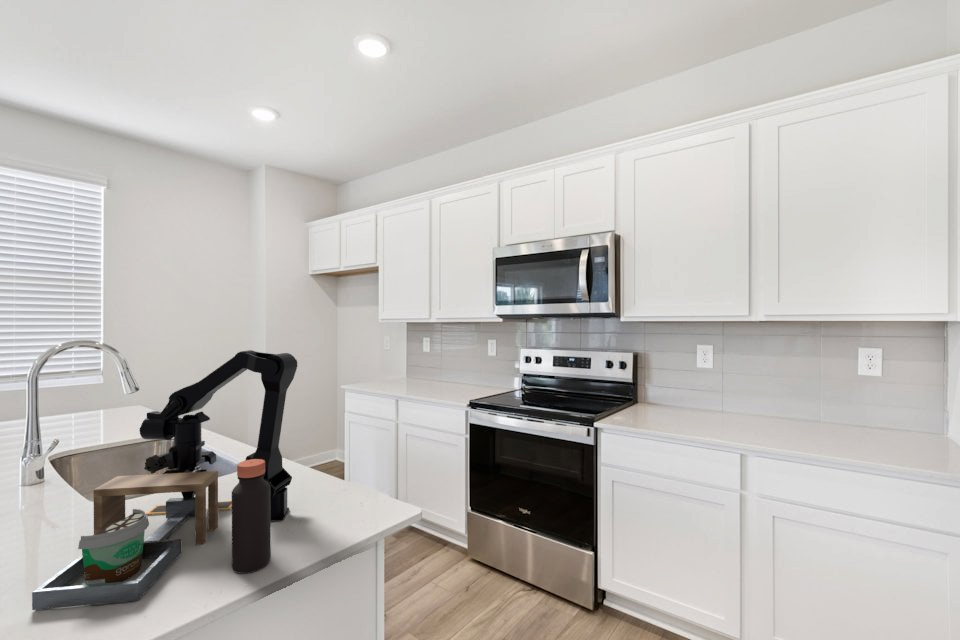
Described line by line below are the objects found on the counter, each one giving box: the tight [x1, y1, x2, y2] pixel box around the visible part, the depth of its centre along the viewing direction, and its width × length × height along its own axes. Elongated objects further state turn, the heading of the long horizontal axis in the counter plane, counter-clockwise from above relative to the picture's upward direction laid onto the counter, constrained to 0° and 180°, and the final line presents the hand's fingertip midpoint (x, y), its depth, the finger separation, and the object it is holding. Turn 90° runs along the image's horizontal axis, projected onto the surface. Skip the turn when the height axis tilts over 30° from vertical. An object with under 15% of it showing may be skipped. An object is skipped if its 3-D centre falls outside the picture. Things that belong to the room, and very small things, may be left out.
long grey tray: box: [31, 496, 195, 611], centre depth 94 cm, size 16×36×4 cm, turn 10°
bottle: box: [231, 459, 272, 574], centre depth 89 cm, size 7×7×20 cm
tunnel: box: [93, 470, 219, 546], centre depth 99 cm, size 21×8×13 cm, turn 100°
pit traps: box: [145, 500, 232, 516], centre depth 115 cm, size 19×5×1 cm, turn 100°
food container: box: [77, 508, 150, 585], centre depth 85 cm, size 12×6×10 cm, turn 177°
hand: (188, 502), depth 112 cm, fingers closed
